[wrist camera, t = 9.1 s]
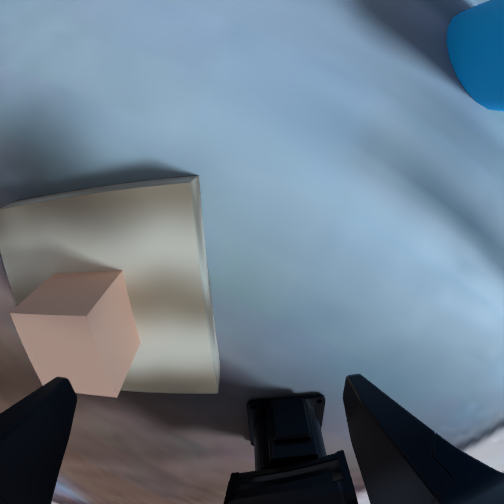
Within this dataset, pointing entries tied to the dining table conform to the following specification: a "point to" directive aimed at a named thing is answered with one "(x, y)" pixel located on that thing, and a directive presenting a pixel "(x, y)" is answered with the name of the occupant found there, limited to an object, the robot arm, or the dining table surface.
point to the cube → (80, 330)
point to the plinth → (129, 269)
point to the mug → (479, 52)
